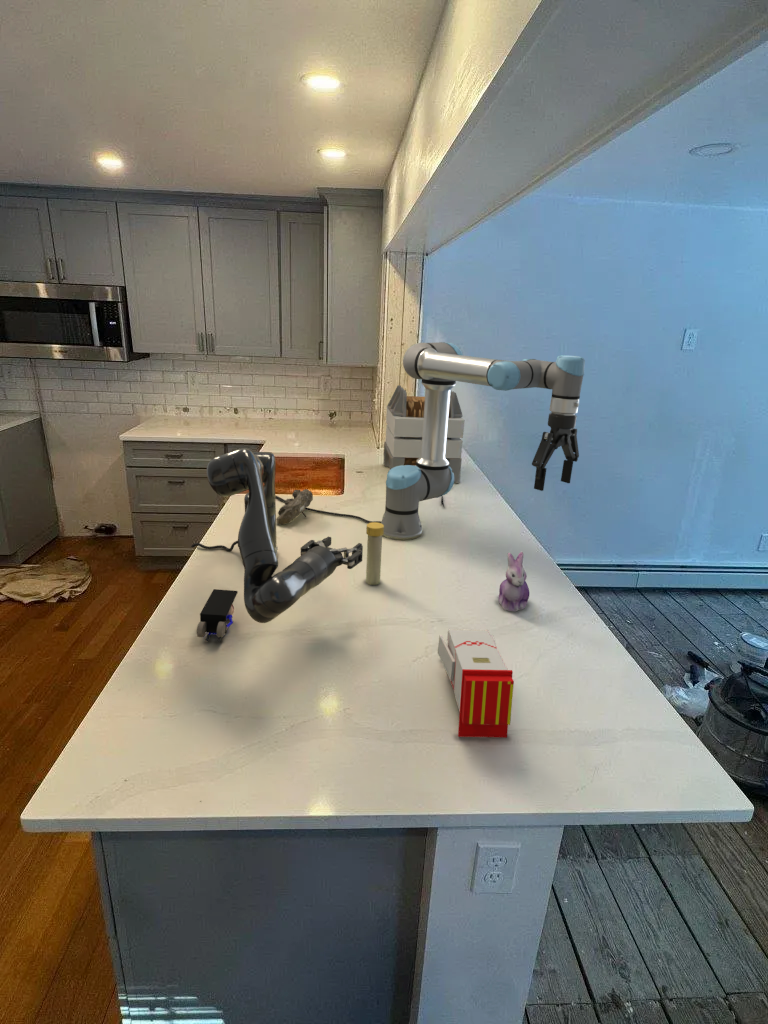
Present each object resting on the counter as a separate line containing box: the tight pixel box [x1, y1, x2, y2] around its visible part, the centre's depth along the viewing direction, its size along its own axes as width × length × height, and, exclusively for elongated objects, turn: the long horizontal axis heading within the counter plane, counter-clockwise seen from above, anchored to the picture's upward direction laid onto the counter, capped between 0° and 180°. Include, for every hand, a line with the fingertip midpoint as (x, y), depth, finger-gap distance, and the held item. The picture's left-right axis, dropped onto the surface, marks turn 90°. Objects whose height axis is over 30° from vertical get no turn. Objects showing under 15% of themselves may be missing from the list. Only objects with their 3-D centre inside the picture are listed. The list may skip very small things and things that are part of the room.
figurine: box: [497, 551, 530, 612], centre depth 152 cm, size 9×10×15 cm
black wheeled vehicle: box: [196, 588, 238, 643], centre depth 135 cm, size 7×8×15 cm
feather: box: [440, 495, 445, 508], centre depth 240 cm, size 2×28×2 cm
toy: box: [437, 628, 515, 738], centre depth 117 cm, size 12×13×30 cm
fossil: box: [276, 488, 314, 526], centre depth 210 cm, size 22×10×15 cm
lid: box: [365, 522, 384, 537], centre depth 159 cm, size 5×5×2 cm
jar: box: [365, 535, 383, 586], centre depth 161 cm, size 4×4×17 cm
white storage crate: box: [383, 384, 465, 484], centre depth 268 cm, size 34×33×41 cm
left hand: (345, 543), depth 141 cm, fingers open, 8 cm apart
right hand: (552, 485), depth 166 cm, fingers open, 13 cm apart
